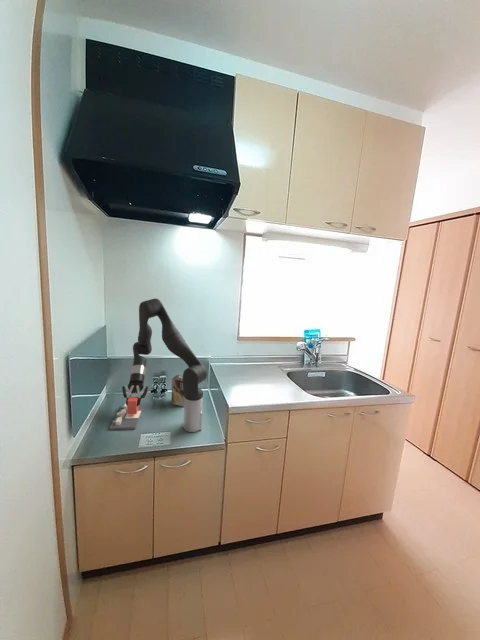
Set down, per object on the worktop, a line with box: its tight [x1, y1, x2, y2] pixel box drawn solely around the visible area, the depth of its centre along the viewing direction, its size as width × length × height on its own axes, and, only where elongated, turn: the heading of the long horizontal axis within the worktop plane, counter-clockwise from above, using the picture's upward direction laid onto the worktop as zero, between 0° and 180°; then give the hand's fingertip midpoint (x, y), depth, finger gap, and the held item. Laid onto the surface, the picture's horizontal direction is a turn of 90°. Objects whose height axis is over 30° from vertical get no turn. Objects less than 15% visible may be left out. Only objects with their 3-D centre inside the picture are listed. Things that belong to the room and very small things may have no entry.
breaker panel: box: [109, 402, 146, 431], centre depth 140 cm, size 12×22×3 cm, turn 8°
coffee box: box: [171, 374, 184, 408], centre depth 156 cm, size 9×6×16 cm
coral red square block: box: [127, 396, 138, 414], centre depth 139 cm, size 4×4×8 cm
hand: (132, 405), depth 138 cm, fingers closed on coral red square block, 4 cm apart
